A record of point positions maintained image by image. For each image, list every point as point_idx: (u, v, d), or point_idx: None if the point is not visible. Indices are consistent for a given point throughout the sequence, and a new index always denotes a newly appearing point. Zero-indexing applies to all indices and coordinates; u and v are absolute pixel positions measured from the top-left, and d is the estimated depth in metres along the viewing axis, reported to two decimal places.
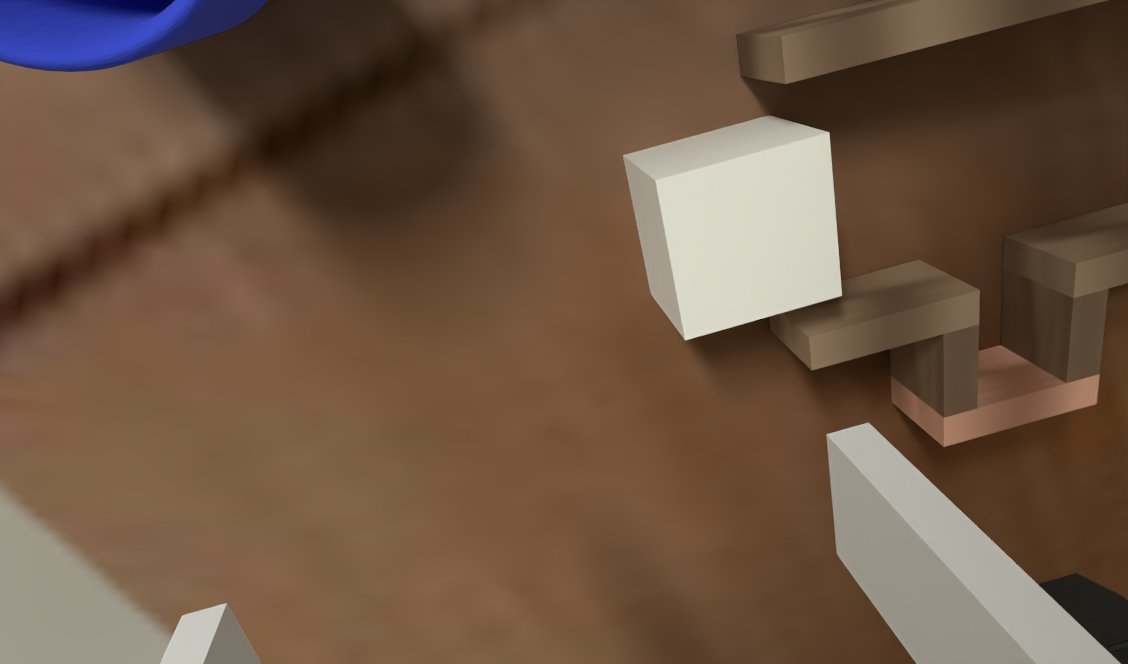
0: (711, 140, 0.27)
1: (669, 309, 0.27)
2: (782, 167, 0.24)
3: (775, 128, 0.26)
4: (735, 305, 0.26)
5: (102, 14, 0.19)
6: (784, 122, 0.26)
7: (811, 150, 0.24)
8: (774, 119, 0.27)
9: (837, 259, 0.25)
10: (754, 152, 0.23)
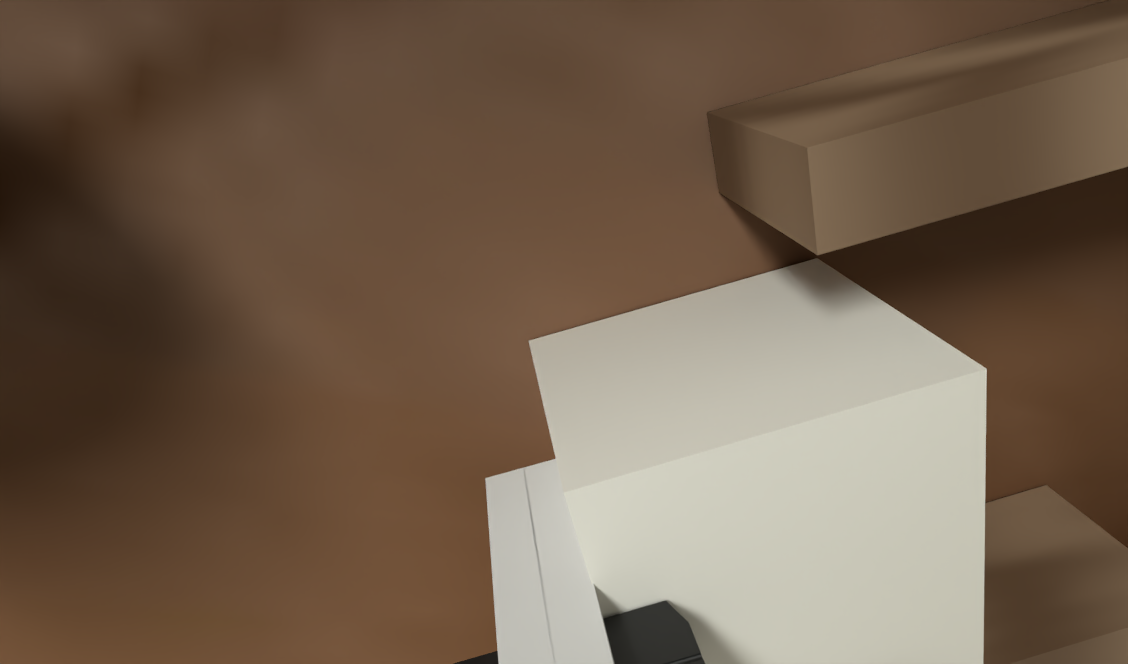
0: (704, 330, 0.13)
1: None
2: (870, 447, 0.10)
3: (841, 315, 0.12)
4: None
5: None
6: (857, 294, 0.12)
7: (941, 408, 0.10)
8: (833, 278, 0.13)
9: (980, 608, 0.12)
10: (805, 419, 0.10)
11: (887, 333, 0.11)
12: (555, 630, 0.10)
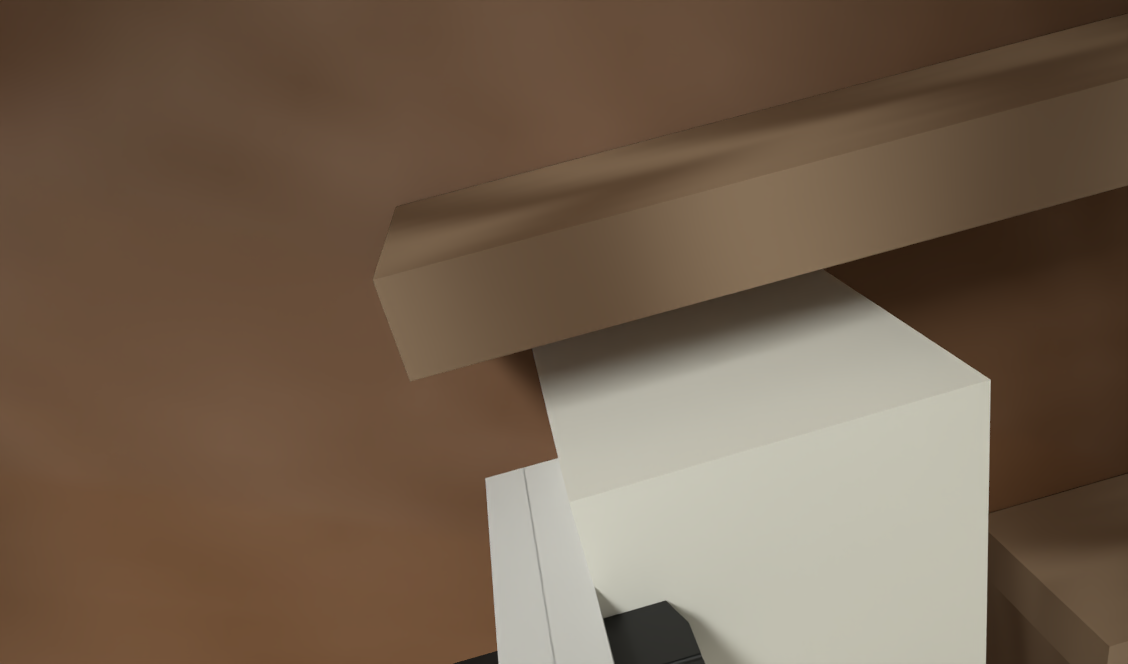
0: (707, 338, 0.13)
1: None
2: (874, 458, 0.10)
3: (844, 324, 0.12)
4: None
5: None
6: (860, 304, 0.13)
7: (945, 418, 0.10)
8: (836, 287, 0.13)
9: (982, 617, 0.12)
10: (810, 430, 0.10)
11: (891, 343, 0.11)
12: (555, 630, 0.10)
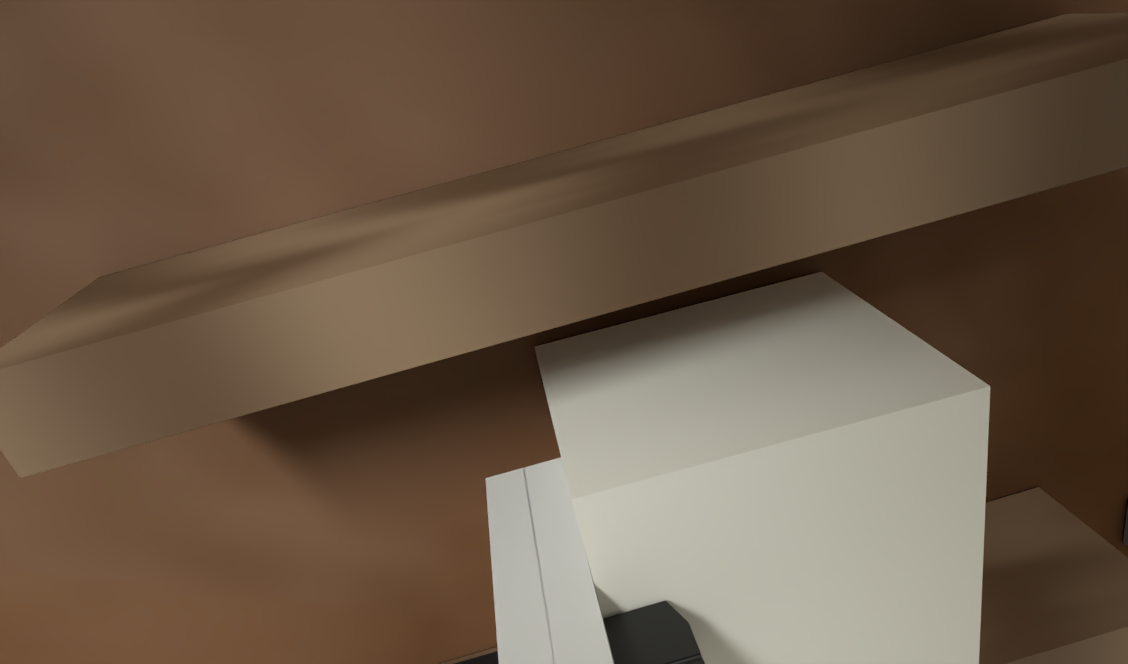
0: (709, 340, 0.13)
1: None
2: (874, 461, 0.10)
3: (846, 328, 0.12)
4: None
5: None
6: (862, 309, 0.13)
7: (944, 423, 0.10)
8: (837, 291, 0.13)
9: (976, 621, 0.12)
10: (811, 432, 0.10)
11: (892, 348, 0.11)
12: (555, 630, 0.10)
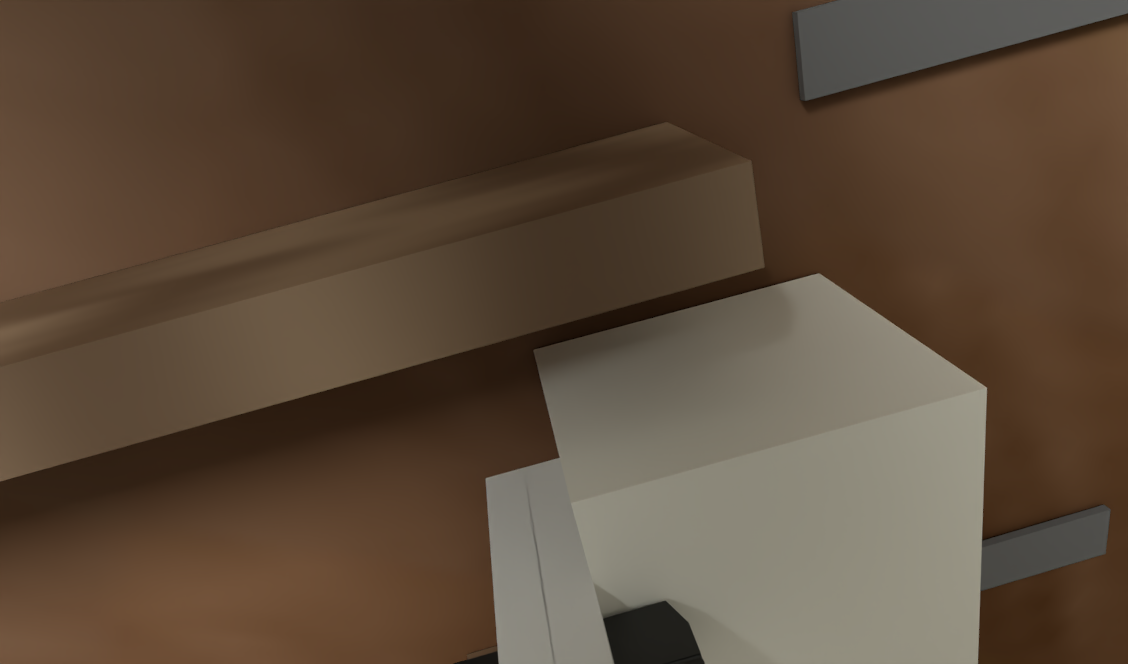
0: (707, 343, 0.13)
1: None
2: (872, 463, 0.10)
3: (843, 330, 0.12)
4: None
5: None
6: (859, 310, 0.13)
7: (941, 425, 0.10)
8: (835, 293, 0.13)
9: (975, 621, 0.12)
10: (809, 435, 0.10)
11: (889, 350, 0.11)
12: (555, 630, 0.10)
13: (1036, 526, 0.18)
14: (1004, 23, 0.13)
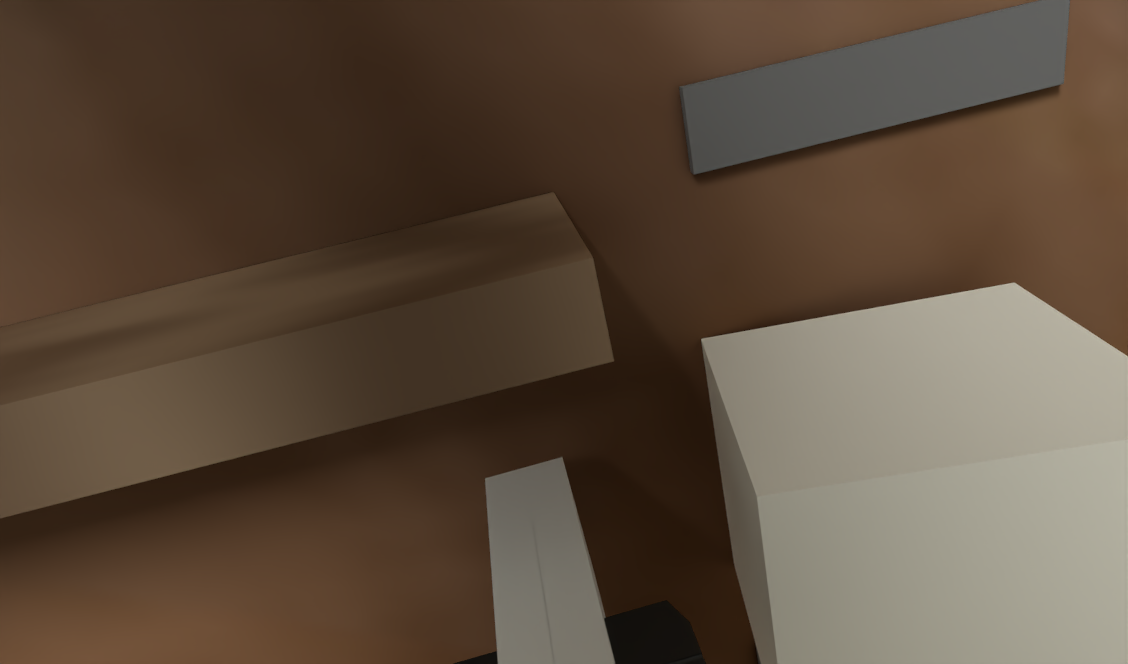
0: (891, 347, 0.12)
1: None
2: (1084, 490, 0.10)
3: (1048, 346, 0.11)
4: None
5: None
6: (1066, 326, 0.12)
7: None
8: (1035, 306, 0.13)
9: None
10: (1017, 454, 0.09)
11: (1106, 372, 0.11)
12: (555, 630, 0.10)
13: None
14: (896, 101, 0.13)
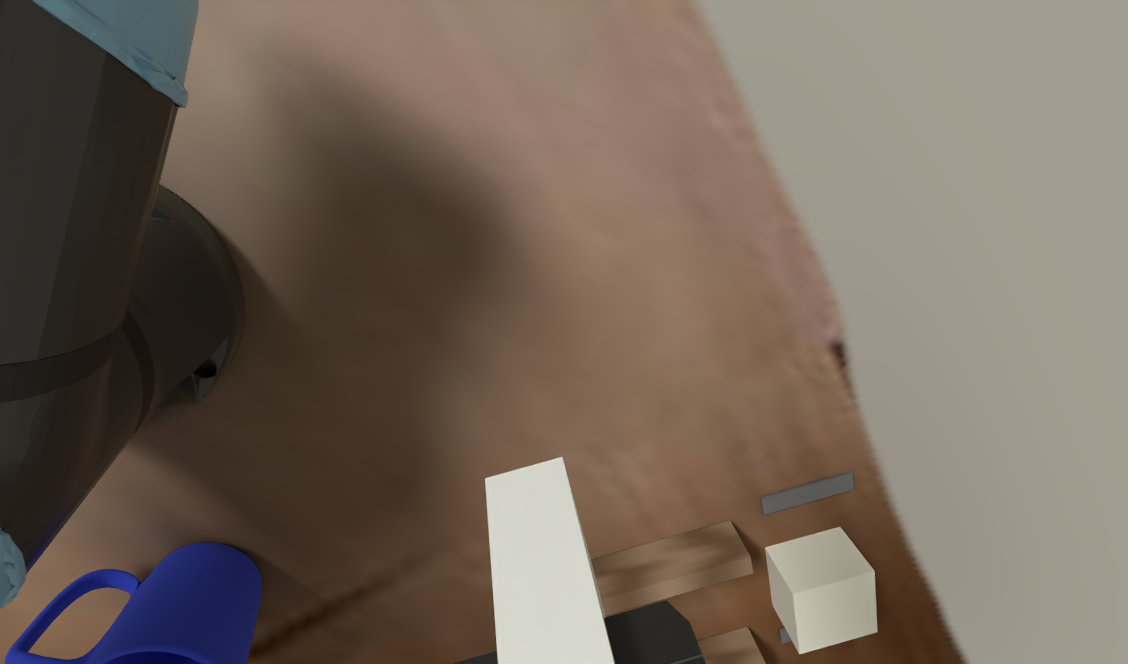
0: (812, 549, 0.53)
1: (789, 631, 0.53)
2: (851, 585, 0.50)
3: (846, 549, 0.52)
4: (825, 639, 0.52)
5: None
6: (849, 543, 0.53)
7: (865, 578, 0.50)
8: (843, 535, 0.53)
9: (875, 618, 0.52)
10: (839, 580, 0.50)
11: (856, 557, 0.51)
12: (555, 630, 0.10)
13: None
14: (812, 496, 0.52)
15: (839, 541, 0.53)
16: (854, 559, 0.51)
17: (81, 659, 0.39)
